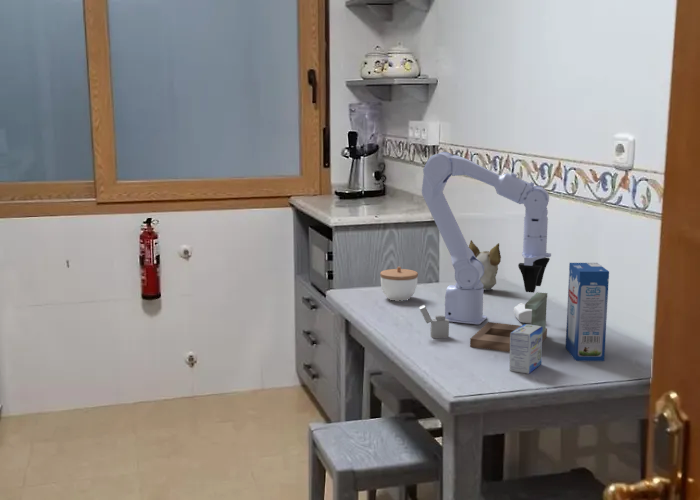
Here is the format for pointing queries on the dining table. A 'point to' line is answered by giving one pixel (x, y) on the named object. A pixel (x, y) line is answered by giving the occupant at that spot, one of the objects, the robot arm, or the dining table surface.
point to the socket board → (510, 327)
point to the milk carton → (587, 311)
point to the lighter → (436, 324)
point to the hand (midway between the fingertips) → (533, 288)
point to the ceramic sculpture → (488, 264)
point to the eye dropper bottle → (523, 313)
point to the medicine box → (526, 348)
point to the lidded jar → (398, 283)
